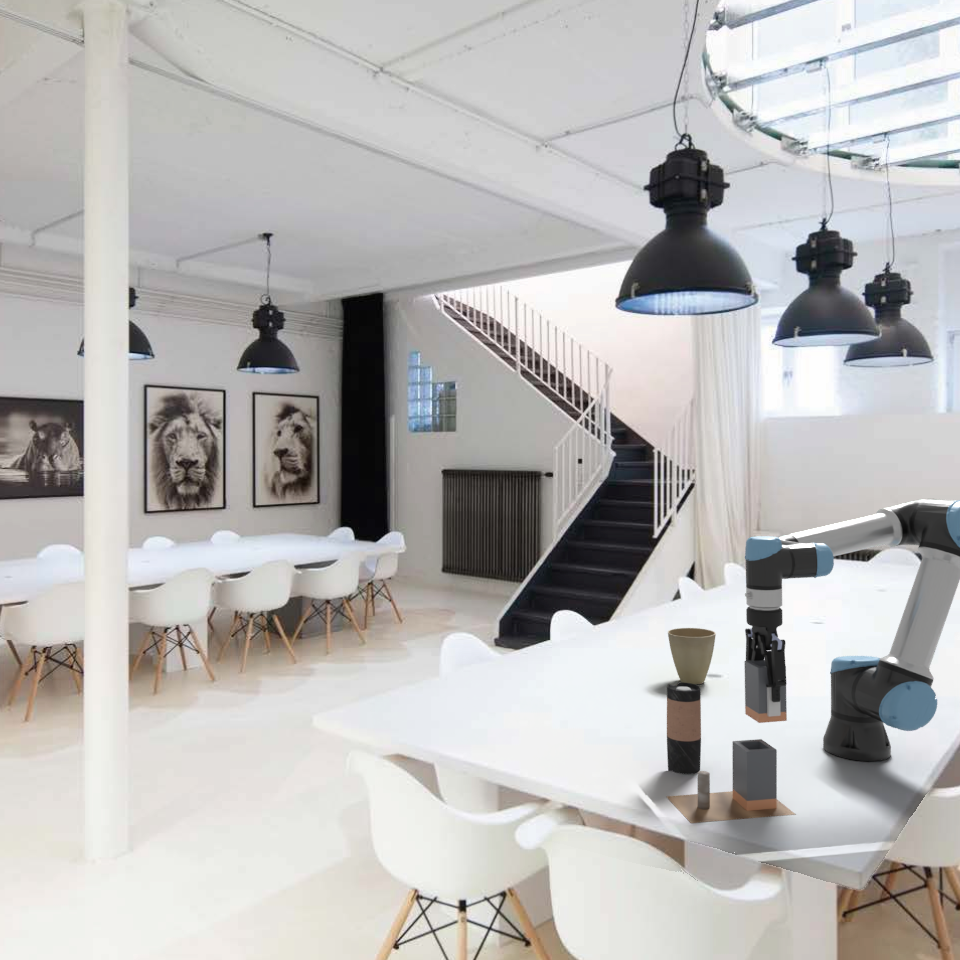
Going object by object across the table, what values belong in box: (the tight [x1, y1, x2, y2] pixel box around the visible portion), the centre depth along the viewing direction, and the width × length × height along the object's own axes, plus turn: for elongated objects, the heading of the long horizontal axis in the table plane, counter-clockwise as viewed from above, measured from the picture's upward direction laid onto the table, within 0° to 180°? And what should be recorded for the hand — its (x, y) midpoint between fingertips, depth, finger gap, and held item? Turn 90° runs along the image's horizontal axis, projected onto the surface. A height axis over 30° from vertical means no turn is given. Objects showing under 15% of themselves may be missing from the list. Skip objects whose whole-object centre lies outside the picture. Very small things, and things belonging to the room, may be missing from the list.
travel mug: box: [666, 681, 702, 775], centre depth 193 cm, size 8×8×20 cm
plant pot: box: [667, 627, 717, 685], centre depth 270 cm, size 15×15×16 cm
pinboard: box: [665, 770, 797, 824], centre depth 172 cm, size 22×13×8 cm, turn 99°
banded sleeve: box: [744, 659, 788, 724], centre depth 186 cm, size 6×6×12 cm
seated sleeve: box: [732, 738, 778, 811], centre depth 173 cm, size 6×6×12 cm
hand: (765, 710), depth 186 cm, fingers closed on banded sleeve, 6 cm apart
